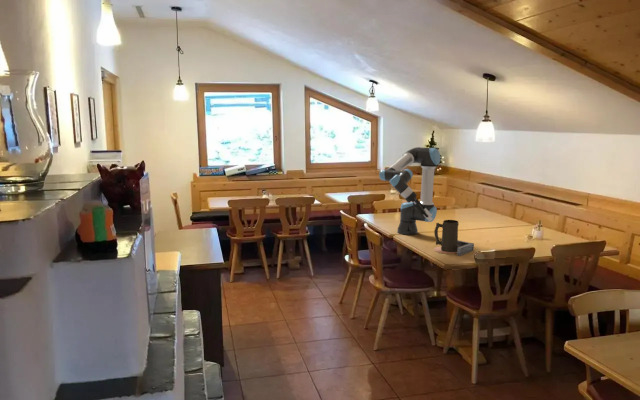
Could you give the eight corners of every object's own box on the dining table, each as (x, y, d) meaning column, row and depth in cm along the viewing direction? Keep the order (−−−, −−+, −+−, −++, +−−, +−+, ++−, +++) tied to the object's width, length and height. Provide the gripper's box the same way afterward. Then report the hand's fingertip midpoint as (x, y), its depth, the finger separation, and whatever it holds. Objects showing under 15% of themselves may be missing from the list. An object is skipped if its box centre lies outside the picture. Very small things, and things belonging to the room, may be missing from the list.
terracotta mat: (441, 246, 345) (441, 245, 345) (462, 250, 334) (462, 250, 334) (428, 250, 334) (428, 249, 333) (450, 255, 323) (450, 254, 323)
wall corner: (445, 244, 349) (445, 237, 348) (473, 250, 334) (473, 243, 333) (431, 249, 336) (431, 242, 335) (459, 256, 321) (460, 248, 321)
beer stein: (456, 247, 339) (455, 218, 335) (460, 252, 328) (460, 222, 325) (433, 249, 339) (432, 220, 335) (437, 253, 328) (436, 223, 325)
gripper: (404, 195, 345) (426, 218, 345) (404, 201, 321) (427, 226, 321) (413, 188, 344) (434, 211, 343) (412, 193, 319) (436, 218, 319)
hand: (431, 218), depth 332 cm, fingers open, 13 cm apart
